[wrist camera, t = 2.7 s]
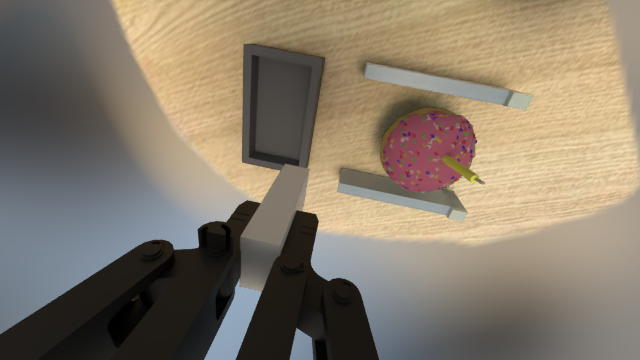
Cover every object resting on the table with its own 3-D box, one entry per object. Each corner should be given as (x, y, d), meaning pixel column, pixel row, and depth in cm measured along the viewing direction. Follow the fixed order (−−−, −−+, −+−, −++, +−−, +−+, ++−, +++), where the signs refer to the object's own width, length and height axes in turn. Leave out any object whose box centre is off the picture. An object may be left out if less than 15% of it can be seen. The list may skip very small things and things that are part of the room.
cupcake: (448, 85, 25) (513, 112, 15) (464, 157, 28) (527, 222, 18) (367, 118, 28) (373, 160, 17) (390, 181, 31) (407, 249, 21)
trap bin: (253, 44, 26) (243, 43, 24) (324, 57, 26) (321, 58, 23) (249, 154, 32) (241, 162, 30) (307, 166, 32) (304, 175, 29)
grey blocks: (366, 61, 25) (367, 63, 21) (505, 87, 25) (533, 95, 21) (339, 176, 32) (336, 194, 28) (449, 199, 31) (462, 221, 27)
